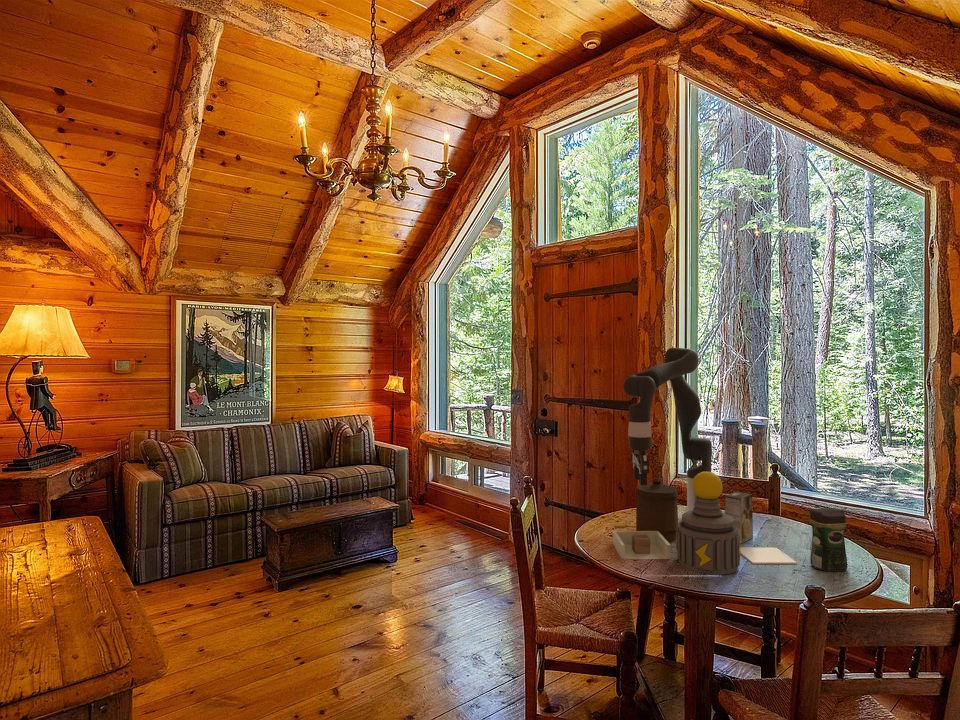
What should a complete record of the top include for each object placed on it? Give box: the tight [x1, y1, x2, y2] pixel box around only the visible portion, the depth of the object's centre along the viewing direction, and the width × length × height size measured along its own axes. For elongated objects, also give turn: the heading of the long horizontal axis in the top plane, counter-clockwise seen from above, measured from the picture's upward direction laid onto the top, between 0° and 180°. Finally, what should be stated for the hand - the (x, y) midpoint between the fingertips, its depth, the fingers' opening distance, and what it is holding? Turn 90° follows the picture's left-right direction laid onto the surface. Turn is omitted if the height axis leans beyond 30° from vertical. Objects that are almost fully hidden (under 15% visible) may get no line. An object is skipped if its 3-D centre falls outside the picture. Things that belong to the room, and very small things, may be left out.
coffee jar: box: [809, 507, 848, 572], centre depth 177 cm, size 10×8×19 cm
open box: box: [612, 530, 672, 560], centre depth 193 cm, size 15×16×5 cm
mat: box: [740, 547, 798, 565], centre depth 188 cm, size 14×14×1 cm
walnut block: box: [632, 534, 650, 554], centre depth 192 cm, size 5×5×5 cm
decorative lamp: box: [675, 471, 741, 576], centre depth 180 cm, size 19×19×30 cm
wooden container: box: [635, 476, 679, 543], centre depth 209 cm, size 15×15×22 cm
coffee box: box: [724, 491, 754, 544], centre depth 206 cm, size 9×6×16 cm
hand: (640, 482), depth 192 cm, fingers open, 8 cm apart
